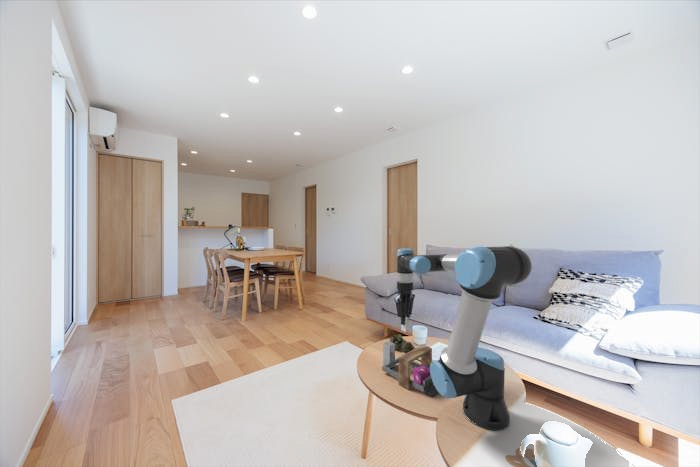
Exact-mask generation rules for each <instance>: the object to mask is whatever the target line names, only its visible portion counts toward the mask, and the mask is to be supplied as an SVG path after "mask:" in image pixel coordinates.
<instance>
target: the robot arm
mask: <svg viewBox="0 0 700 467" xmlns="http://www.w3.org/2000/svg"><path fill="white" fill-rule="evenodd" d="M532 269H533V265H532V260H531V258H530V256H529V255H528V254H527V253H526V252H525V251H524V250H522V249H521V248H519V247H516V246H510V245H509V246H506V245H505V246H475V247H470V248H467V249H465V250H463V251H461V253H450V254H449V253H442V254H440V253H439V254H418V255H417V254H415V253H414V250H413V248H399V249H397V255H396V272H397V273H396V275H397V276H396V290H397V292H398V293H397V297H394V298H393V299H394V302H395V308H396V312H397V313H396V314H397V317H399V318H400V327H401V328H400V330H401V332H402V331H403V332H404V333H407V332H408V331H409V318H411V315H412V312H413V307H414V300H415V297H416V294H414V293H413V290H414V273H415V274H416V275H425V274H428V273H435V272H445V273H447V272H449V273H455V278H456V281H457V282H458V287H459V288H460V290H462V292H461V296H460V300H459V304H458V307H457V311H456V314H455V318H454V322H453V326H452V330H451V333H450V338H449V341H448V344H447V347H444V348H443V349H442V350H441V352H440V355H439V359H438V360H434V361H433V360H432V363H431V365H430V374H431V378H432V381H433V384H434V386H435V388H436V389H437V391H438V392H439V393H438V394H439V395H441V396H442V397H443V398H446V399H453V398H454V399H456V398H458V397H463V396H465V397H464V400H463V402H462V411H463V410H464V412H463V414H464V413H465V414H464V416H465V415H466V416H467V417H468V418H469V419H470V420H471V421H473V422H474V423H476V424H477V425H476V424H475V425H476V426H477V427H480V428H483V429H486V430H491V431H501V430H505V429H508V427H509V426H510V424H511V423H510V421H511V420H510V417H511V415H510V413H509V412H510V411H509V410H508V409H509V408H508V406H507V403H506V400H505V372H506V368H505V360H504V358H503V357H502V356H501V355H500V354H498V353H497V352H495V351H493V350H491V349H487V348H483V347H479V345H480V342H481V338H482V335H483V332H484V329H485V325H486V322H487V319H488V316H489V314H490V313H489V312H490V309H491V307H492V302H493V301H495V300H499V298H501V294H502V291H503V288H504V286H511V285H518V284H520V283H523V282H524V281H526V280H527V279H528V277H529V276H530V275H531V272H532ZM466 416H465V417H466ZM467 417H466V418H467ZM468 418H467V419H468ZM469 419H468V420H469ZM470 420H469V421H470ZM471 421H470V422H471ZM473 422H472V423H473ZM474 423H473V424H474Z"/></svg>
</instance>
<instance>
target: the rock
mask: <svg viewBox="0 0 700 467" xmlns="http://www.w3.org/2000/svg"><path fill="white" fill-rule="evenodd" d="M389 341H390V342H392V343H395V351H399V352H400V353H407V352H409V351H411V350H413V349H415V346H414V345H413V343H412V342H411V341H407V340H406V339H404V338H403V337H402V334H401V333H398V334H393V335H392V337H390V338H389Z"/></svg>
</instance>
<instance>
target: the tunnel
mask: <svg viewBox="0 0 700 467" xmlns="http://www.w3.org/2000/svg"><path fill="white" fill-rule="evenodd" d="M398 358H399V363H398V373H399V379H398V386H400V387H402V388H403V389H405V390H408V391H409V390H410V389H411V385H410V379H411V365H410V363H411V362H413V361H414V362H416V360H418V359H420V364H421V365H424V366H426V367H428V368H430V365H431V363H432V362H433V348H432V347H429V346H427V345H424V344H421V345H419V346H416V347H414V348H413V349H412V350H409V351H408V352H405V353H403V354H402V355H399V356H398Z"/></svg>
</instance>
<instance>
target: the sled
mask: <svg viewBox="0 0 700 467" xmlns="http://www.w3.org/2000/svg"><path fill="white" fill-rule="evenodd" d="M382 344H383V349H382V351H383V354H382V356H383V358H382V359H383V362H382V364H383V365H382V366H381V369H382V371H383V372H385V373H387V374H389V375H391V376H392V377H394V378H396V379H398V380H399V372H397V371H395V370H393V369H391V368H394V367H395V366H396V365H397V364H399V357H397V358H396V350H395V343H392V342H391V341H390V340H388V341H386V342H383V343H382ZM410 366H412V367H413V368H417V367H422V366H424V365H421V363H418V362H417V361H413V362H411V363H410ZM425 367H426V366H425ZM426 368H427V369H429V370H430V368H428V367H426ZM433 385H434V384H433V381H432V378H431V375H430V376H429V377H427V378H426V379H424V380H423V385H422V384H420V383H418V382H416V381H414V379H411V378H410V386H412V387H414V388H415V389H418V390H419V391H421V392H424V393H425V391H426V390H428V389H429V388H430V387H432V386H433Z"/></svg>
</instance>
